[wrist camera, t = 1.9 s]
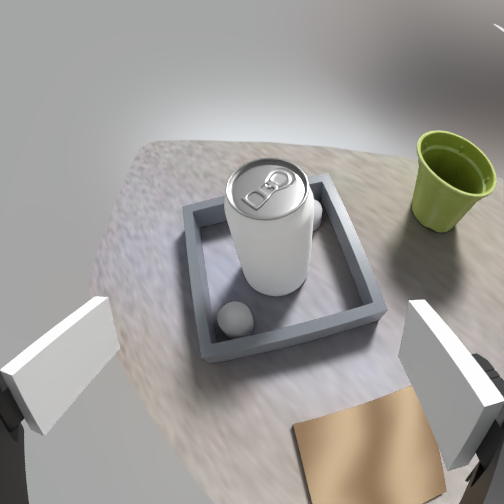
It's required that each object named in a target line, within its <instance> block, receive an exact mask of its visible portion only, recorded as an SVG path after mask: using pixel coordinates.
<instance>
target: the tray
mask: <svg viewBox="0 0 504 504" xmlns="http://www.w3.org/2000/svg"><path fill="white" fill-rule="evenodd" d="M307 179H308V182H309V186H310V188H311V190H312V193H313V197H314V219H313V231H315V230H316V229H318V228H319V226H320V224H321V217H322V206H321V204H320V203H319V202H318V201H316V200H320V199H321V201H322V203H323V205H324V208H325V210H326V212H327V215H328V217H329V219H330V222H331V224H332V226H333V229H334V231H335V234H336V236H337V238H338V241H339V243H340V246H341V248H342V251H343V253H344V256H345V258H346V261H347V264H348V266H349V269H350V271H351V274H352V277H353V279H354V282H355V285H356V287H357V290H358V293H359V295H360V298H361V301H362V304H363V306H361V307H357V308H354V309H351V310H347V311H344V312H340V313H337V314H333V315H330V316H326V317H323V318H319V319H315V320H312V321H308V322H304V323H300V324H296V325H292V326H288V327H284V328H280V329H276V330H272V331H268V332H264V333H260V334H255V335H251V336H248V335H249V334H250V333H251V332H252V330H253V327H254V320H253V317H252V314H251V312H250V310H249V308H248V307H247V306H246V305H245V304H243V303H241V302H236V301H235V302H229V303H227V304H225V305H224V306H223V307H222V308H221V309H220V311H219V313H218V316H217V321H218V324H219V326H220V328H221V329H222V330H223V332H224V333H225V334H226V335H227V336H228V337H229V338H231V339H233V340H228V341H223V342H218V343H217V338H216V332H215V326H214V320H213V314H212V308H211V302H210V296H209V289H208V283H207V276H206V270H205V263H204V256H203V249H202V242H201V234H200V227H204V226H208V225H212V224H216V223H220V222H224V221H227V218H226V214H225V209H224V202H225V197H226V196H222V197H218V198H214V199H210V200H206V201H203V202H199V203H195V204H191V205H187V206H184V207H183V217H184V228H185V238H186V247H187V257H188V266H189V274H190V282H191V290H192V298H193V305H194V313H195V320H196V327H197V334H198V340H199V347H200V353H201V358H202V359H204V360H205V361H207V362H208V363H210V364H211V363H217V362H222V361H227V360H232V359H237V358H241V357H246V356H251V355H255V354H260V353H264V352H268V351H273V350H277V349H281V348H285V347H289V346H293V345H297V344H301V343H304V342H308V341H312V340H316V339H319V338H323V337H326V336H330V335H333V334H337V333H340V332H343V331H347V330H350V329H353V328H357V327H360V326H363V325H366V324H369V323H372V322H375V321H378V320H380V318H381V317H382V316H383V315H384V314H385V312H386V311H387V310H388V309H387V306H386V304H385V301H384V299H383V296H382V293H381V291H380V288H379V286H378V283H377V281H376V278H375V276H374V273H373V271H372V268H371V266H370V263H369V261H368V259H367V256H366V254H365V251H364V249H363V247H362V245H361V242H360V240H359V238H358V235H357V233H356V231H355V229H354V227H353V224H352V222H351V220H350V218H349V216H348V213H347V211H346V209H345V207H344V205H343V203H342V201H341V199H340V197H339V195H338V193H337V190H336V188H335V186H334V184H333V182H332V180H331V178H330V176H329V174H328V173H327V174H322V175H316V176H312V177H307Z"/></svg>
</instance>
